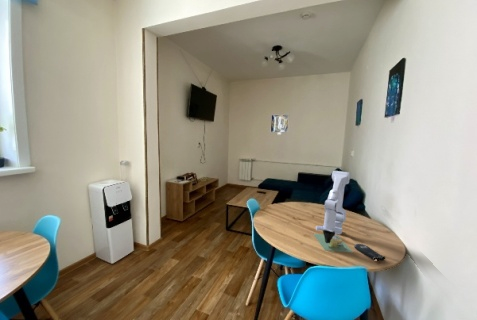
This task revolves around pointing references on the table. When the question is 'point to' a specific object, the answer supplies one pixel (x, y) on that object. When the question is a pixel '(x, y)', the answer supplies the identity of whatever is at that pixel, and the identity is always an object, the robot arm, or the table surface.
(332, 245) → the tan stepped block
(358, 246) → the electronic device
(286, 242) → the table surface
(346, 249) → the board
